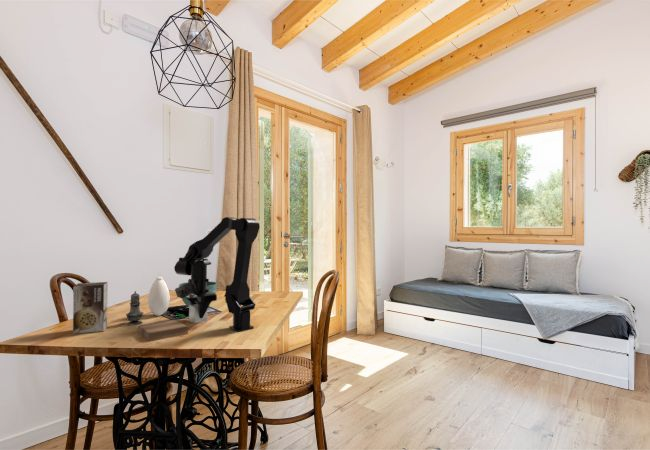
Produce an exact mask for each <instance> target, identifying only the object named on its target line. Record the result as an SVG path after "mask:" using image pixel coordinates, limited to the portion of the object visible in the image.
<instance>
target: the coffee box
mask: <svg viewBox="0 0 650 450" xmlns="http://www.w3.org/2000/svg"><path fill="white" fill-rule="evenodd" d="M72 288H73V290H72V293H73V296H72V297H73V299H72V300H73V301H72V303H73V304H72V305H73V309H72V310H73V311H72V314H73V315H72V316H73V317H72V319H73V320H72V334H74V335H76V334H85V333H97V332H105V330H107V327H108V281H104V282H103V281H102V282H100V281H99V282H98V281H97V282H82V283H81V282H80V283H79V282H78V283H77V284H75V285H74V286H73V287H72Z"/></svg>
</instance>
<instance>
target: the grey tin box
mask: <svg viewBox="0 0 650 450" xmlns="http://www.w3.org/2000/svg"><path fill="white" fill-rule="evenodd" d="M188 321H189V322H190V323H193V324H198V323H204V322H208V309H207V310H206V312H205V314H204V316H203V318H200V317H199V309H198V304H194V305H189V309H188Z"/></svg>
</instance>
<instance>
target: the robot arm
mask: <svg viewBox="0 0 650 450" xmlns="http://www.w3.org/2000/svg"><path fill="white" fill-rule="evenodd" d="M232 230H233V231H234V232H235V237H236V239H237V249H236V255H235V256H236V257H235V263H234V271H233V277H232V278H233V279H232V282H231V284H228V285H226V286H225V293H224V295H223V296H224V298H225V299H224V300H225V303H226V306H227V310H228V313H231V314H232V325H229V327H228V328H230V329H231V330H234V331H237V332H241V331H245V330H250V329H254V328H255V326H253V325H251V311H253V310H255V307H256V302H254V299H253V298H252V297H251V295H250V294H251V293H250V287H249V284H248V277H249V276H248V275H249V268H250V261H251V255H252V254H251V253H252V247H253V243H254V242H255V240H256V238H257V237H258V234H259V230H260V222H259V221H258V220H257V219H256V218H251V217H248V218H247V217H240V218H237V217H236V218H235V217H231V216H230V217H229V216H225V217H223V218H222V219H221V221H220V222H218V224H217V225H216V226H215V227H214V228H213V229H212V230H210V232H209V233H207V234H206V236H204V237H203V238H202V239H199V240H196V241H194V243H192V244H190V245H189V247H188V250H187V252H186V253H185V255H184V257H178V261H176V262H175V265H174V272H175V274H177V275H180V276H190V278H188V281H187V282H188V283H187V284H185V285H182V286H180V287H179V286H178V287H176V288H174V293H175V295H176V297H177V298H179V299H182V298H184V297H185V296H187V297H185V299H187V300H188V301H189V302H190V305H194V304H198V309H199V317H200V318H203V316H204V314H205V312H206V310H207V311H208V308H209V307H210V305H211V303H212V302H215V301H216V302H217V300H218V295H217V294H215V293H213V292H208V289H206V286H207V282H210V281H209V280H210V279H209V278H208V277H207V274H208V269H207V268H208V265H209V266H210V265H212V262H211V261H209V259H208V258H209V256H210V255H211V254H212V252H213V251H214V247H215V246H216V245H217V244H218V243H219V242H220V241H221V240H222V239H223V238H224V237H225V236H227V235H228V234H229V233H230V232H231V231H232Z"/></svg>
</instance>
